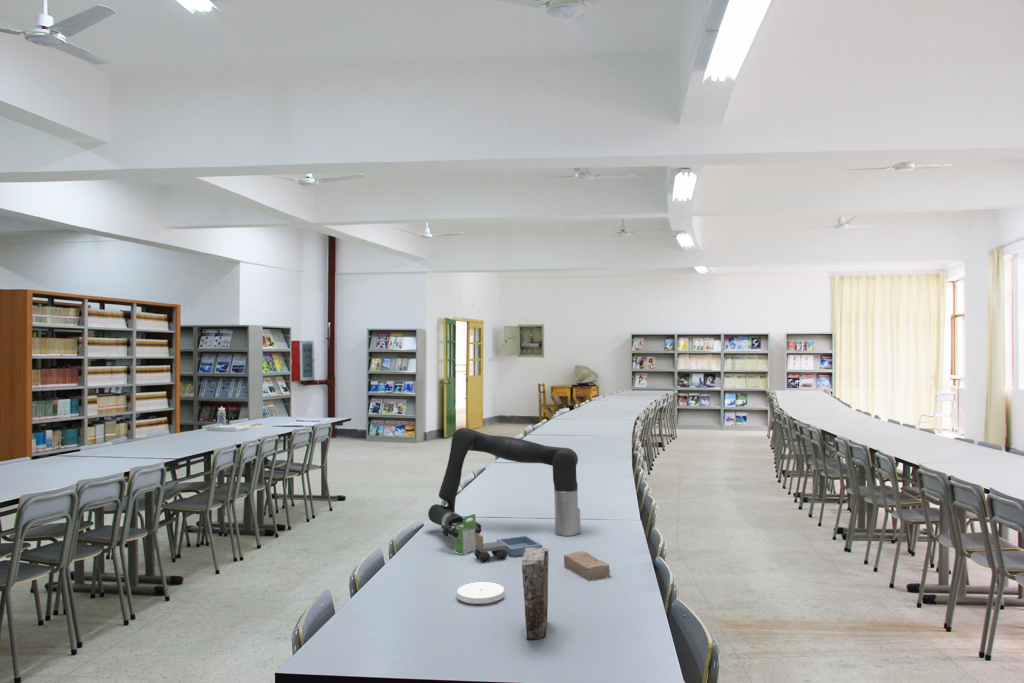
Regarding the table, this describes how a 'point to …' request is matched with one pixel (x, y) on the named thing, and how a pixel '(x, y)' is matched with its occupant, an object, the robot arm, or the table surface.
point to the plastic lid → (480, 592)
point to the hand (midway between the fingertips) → (467, 533)
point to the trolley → (489, 549)
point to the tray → (518, 545)
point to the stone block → (535, 591)
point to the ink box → (466, 535)
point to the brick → (586, 565)
